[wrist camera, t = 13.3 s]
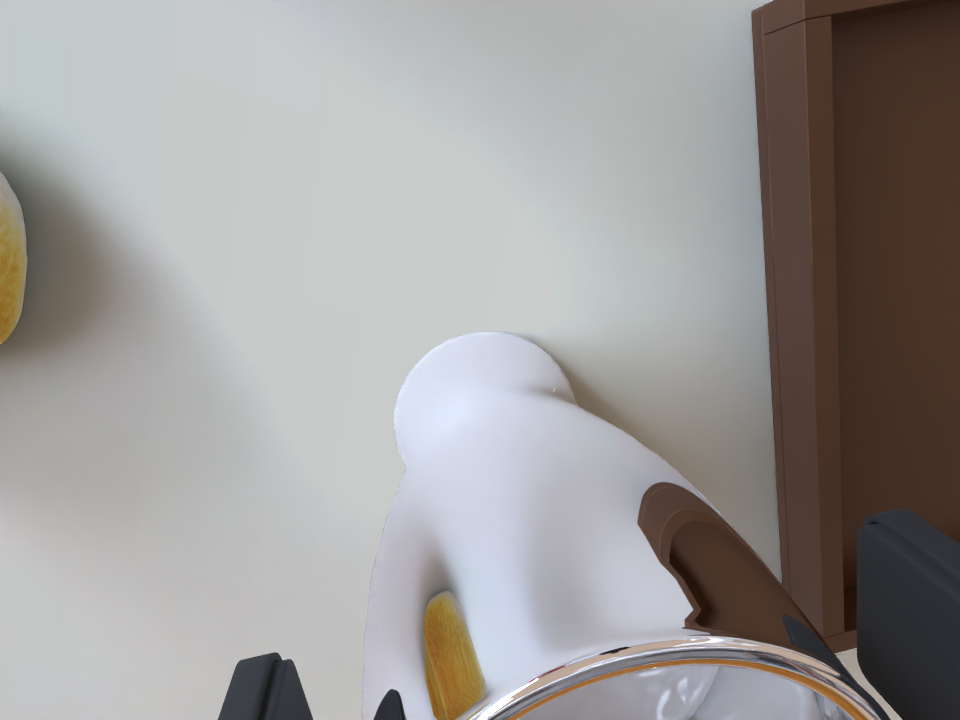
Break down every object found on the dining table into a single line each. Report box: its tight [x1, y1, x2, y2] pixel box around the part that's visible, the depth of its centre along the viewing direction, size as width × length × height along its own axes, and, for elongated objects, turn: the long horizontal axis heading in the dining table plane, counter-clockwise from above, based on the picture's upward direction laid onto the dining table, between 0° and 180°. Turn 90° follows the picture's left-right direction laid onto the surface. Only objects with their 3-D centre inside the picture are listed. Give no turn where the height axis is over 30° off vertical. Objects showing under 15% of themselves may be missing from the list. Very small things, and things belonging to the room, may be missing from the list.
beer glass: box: [362, 331, 890, 720], centre depth 14 cm, size 7×7×15 cm
